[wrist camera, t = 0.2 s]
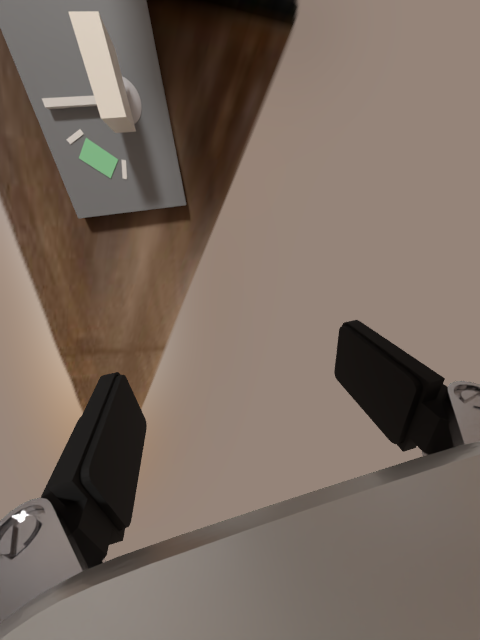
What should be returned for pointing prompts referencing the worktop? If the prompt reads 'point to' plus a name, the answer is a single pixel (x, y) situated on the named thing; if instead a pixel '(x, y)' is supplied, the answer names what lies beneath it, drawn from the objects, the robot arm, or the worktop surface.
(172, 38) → the worktop surface
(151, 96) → the dial board
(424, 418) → the robot arm
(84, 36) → the door lever handle
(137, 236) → the worktop surface
